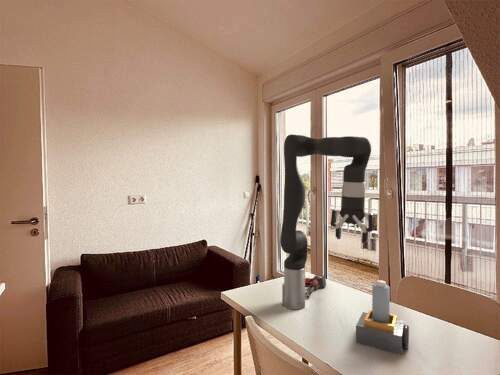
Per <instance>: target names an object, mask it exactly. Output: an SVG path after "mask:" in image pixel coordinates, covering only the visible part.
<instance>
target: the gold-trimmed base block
mask: <svg viewBox="0 0 500 375" xmlns="http://www.w3.org/2000/svg"><path fill="white" fill-rule="evenodd" d="M397 317H398V316H397V315H396V314H391V313H390V324H386V323H381V322H377V321H373V320H372V309H369V310H368V311H367V312H366V311H365V312H364V311H363V312H362V313H361V315H360V317H359V319H358V320H357V323H356V324H355V343H356V344H360V345H363V346H366V347H370V348H375V349H378V350H381V351H386V352H389V353H392V354H396V355H400V356H402V354H403V351H404V350H403V349H404V348H405V349H409V345H410V326H409V325H407V324H406V321H405V320H401V319H398V318H397Z"/></svg>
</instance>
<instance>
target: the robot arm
mask: <svg viewBox="0 0 500 375" xmlns="http://www.w3.org/2000/svg"><path fill="white" fill-rule="evenodd" d="M313 155H321V156H324V157H325V156H326V157H341V158H352V161H351V162H350V163H349V164H347V165H345V166H344V168H343V176H342V178H343V179H342V186H341V202H340V203H341V205H340V208H341V209H340V210H338V209H336V208H335V209H332V210H331V216H330V227H334V229H335V238H336V239H337V240H340V239H341V237H342V226H343V225H344V224H345V223H346V224H348V225H354V226H355V225H357V226H358V227H359V228H360V229H361V231H362V233H361V243H362V244H366V242H367V241H368V238H369V237H368V235H369V233H370V232H373V231H374V230H375V214H374V213H373V212H371V213H365V201H366V198H365V197H366V196H365V195H366V186H365V182H366V170H367V167H368V163H369V160H370V158H371V155H372V143H371V141H370V140H369V139H368V138H367V137H363V136H329V137H326V136H325V137H323V138H312V137H309V136H306V135H303V134H302V135H299V134H288V135H287V136H286V138H285V139H284V142H283V160H284V162H283V163H284V186H283V187H284V188H283V190H284V191H283V212H282V224H281V231H280V240H279V241H280V243H279V244H280V248H281V249H282V251H283V252H284V253H285V254H288V256H287V257H286V258H285V259H284V261H283V283H282V288H281V290H282V292H281V293H282V294H281V295H282V296H281V297H282V298H281V300H282V301H281V306H283V307H285V308H286V309H289V310H295V311H297V310H302V309H304V308H305V307H306V297H305V293H306V287H305V278H306V263H307V260H308V238H307V235H306V234H305V232H304V231H302V230H297V224H298V220H299V217H300V215H301V213H302V211H303V209H304V206H305V202H306V185H305V182H304V180H303V177H302V176H301V174H300V172H299V169H298V162H297V160H298V158H299V157H300V158H301V157H308V156H313ZM297 157H298V158H297ZM339 215H340V217H341V219H340V220H339V222H337V218H338V216H339ZM364 218H366V220H367V222H368V227H367V226H366V224H365V221H364V220H363V219H364Z"/></svg>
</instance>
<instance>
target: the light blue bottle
mask: <svg viewBox="0 0 500 375" xmlns="http://www.w3.org/2000/svg"><path fill="white" fill-rule="evenodd" d="M375 282H376V283H373V284H372V285H371V288H372V292H371V294H372V296H371V297H372V300H371V302H372V304H371V308H372V309H371V310H372V320H373V321H377V322H381V323H386V324H390V314H391V313H390V308H391V306H390V303H391V301H390V300H391V298H390V296H391V291H390V289H391V288H390V286H389V285H388V284H387V282H386V281H385V280H381V279H378V280H376V281H375Z"/></svg>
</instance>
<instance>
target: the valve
mask: <svg viewBox="0 0 500 375" xmlns="http://www.w3.org/2000/svg"><path fill="white" fill-rule="evenodd" d="M319 286H322V288H323V289H326V288H327V287H326V286H327V280H326V276H325V275H323V274H322V275H321V276H319V275H318V274H316V275H314V276H313V277H312V278H310V277H305V288H307V289H306V290H305V298H307V299H310V297H311V295H312V293H313V291H316V290H319Z"/></svg>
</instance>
